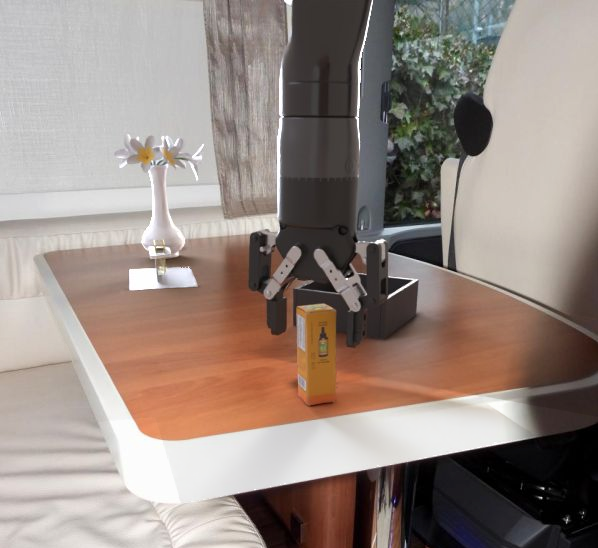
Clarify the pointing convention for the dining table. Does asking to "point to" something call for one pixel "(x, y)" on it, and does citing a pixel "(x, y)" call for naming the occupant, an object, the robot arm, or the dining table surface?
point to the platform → (161, 273)
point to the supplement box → (316, 353)
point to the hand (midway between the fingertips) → (314, 339)
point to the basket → (379, 318)
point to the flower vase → (159, 184)
